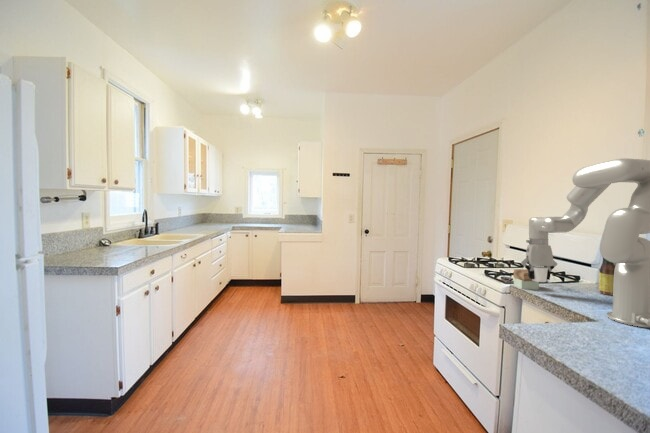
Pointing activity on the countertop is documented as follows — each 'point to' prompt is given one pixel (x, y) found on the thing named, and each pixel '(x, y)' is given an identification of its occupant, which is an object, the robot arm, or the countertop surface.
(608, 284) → the sauce bottle
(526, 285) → the lower block
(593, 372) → the countertop surface
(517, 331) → the countertop surface
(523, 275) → the upper block
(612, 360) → the countertop surface
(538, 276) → the shot glass
